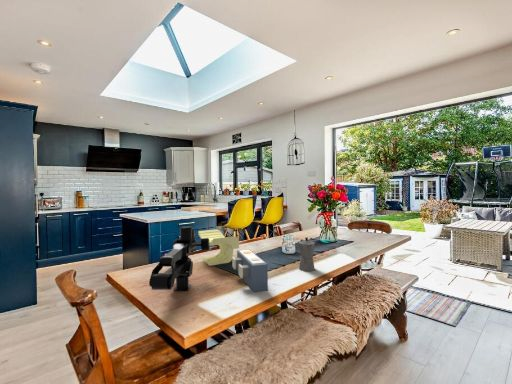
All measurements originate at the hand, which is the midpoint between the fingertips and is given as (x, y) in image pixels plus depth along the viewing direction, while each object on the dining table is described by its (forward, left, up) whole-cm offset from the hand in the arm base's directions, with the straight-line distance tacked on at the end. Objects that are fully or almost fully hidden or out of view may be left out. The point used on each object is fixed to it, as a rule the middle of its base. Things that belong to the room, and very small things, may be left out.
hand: (195, 243), depth 151 cm
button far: (-10, -25, -11) cm, 29 cm away
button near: (-23, -29, -11) cm, 39 cm away
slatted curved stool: (+20, -9, -16) cm, 27 cm away
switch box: (-15, -31, -16) cm, 38 cm away
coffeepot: (+3, -62, -16) cm, 64 cm away
